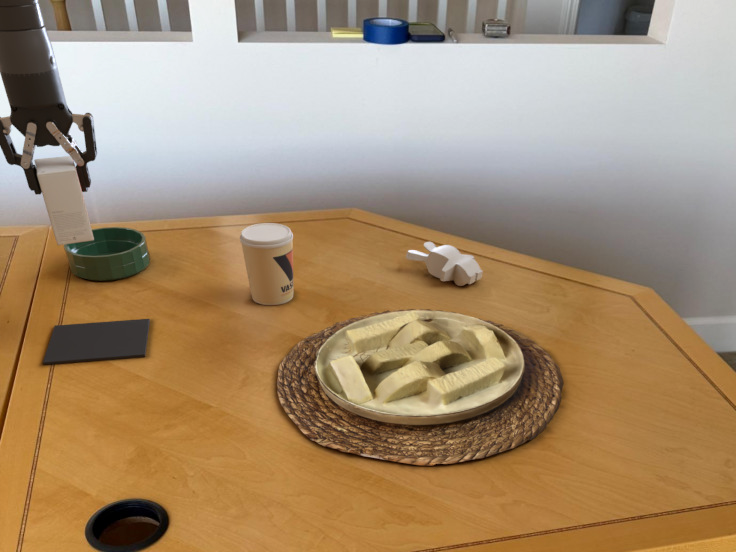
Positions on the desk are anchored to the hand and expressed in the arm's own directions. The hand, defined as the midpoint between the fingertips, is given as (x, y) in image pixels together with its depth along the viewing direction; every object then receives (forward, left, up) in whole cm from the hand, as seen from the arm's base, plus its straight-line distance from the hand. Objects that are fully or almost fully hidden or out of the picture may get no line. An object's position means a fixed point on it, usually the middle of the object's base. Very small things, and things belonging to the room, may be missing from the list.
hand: (62, 191), depth 118 cm
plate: (+51, -25, -24) cm, 61 cm away
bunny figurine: (+64, +13, -24) cm, 70 cm away
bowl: (-1, +28, -23) cm, 37 cm away
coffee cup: (+30, +9, -24) cm, 39 cm away
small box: (0, 0, -7) cm, 7 cm away
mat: (0, -4, -23) cm, 24 cm away
